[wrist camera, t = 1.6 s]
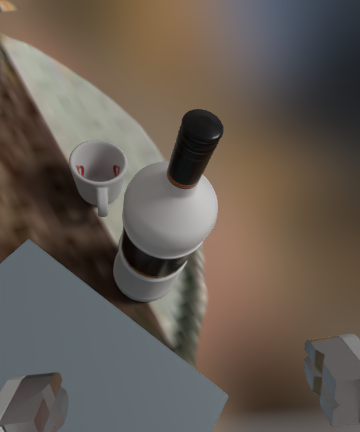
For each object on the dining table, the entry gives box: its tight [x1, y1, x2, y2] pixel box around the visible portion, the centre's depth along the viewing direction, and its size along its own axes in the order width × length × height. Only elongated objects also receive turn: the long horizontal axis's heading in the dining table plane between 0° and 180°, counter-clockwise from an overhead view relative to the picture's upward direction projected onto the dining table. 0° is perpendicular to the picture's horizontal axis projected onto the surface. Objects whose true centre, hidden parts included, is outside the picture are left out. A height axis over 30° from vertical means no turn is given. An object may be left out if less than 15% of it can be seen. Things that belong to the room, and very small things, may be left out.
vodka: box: [113, 109, 223, 302], centre depth 30 cm, size 9×9×30 cm
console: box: [0, 239, 228, 432], centre depth 27 cm, size 8×18×20 cm, turn 56°
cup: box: [69, 140, 127, 217], centre depth 43 cm, size 11×8×8 cm
